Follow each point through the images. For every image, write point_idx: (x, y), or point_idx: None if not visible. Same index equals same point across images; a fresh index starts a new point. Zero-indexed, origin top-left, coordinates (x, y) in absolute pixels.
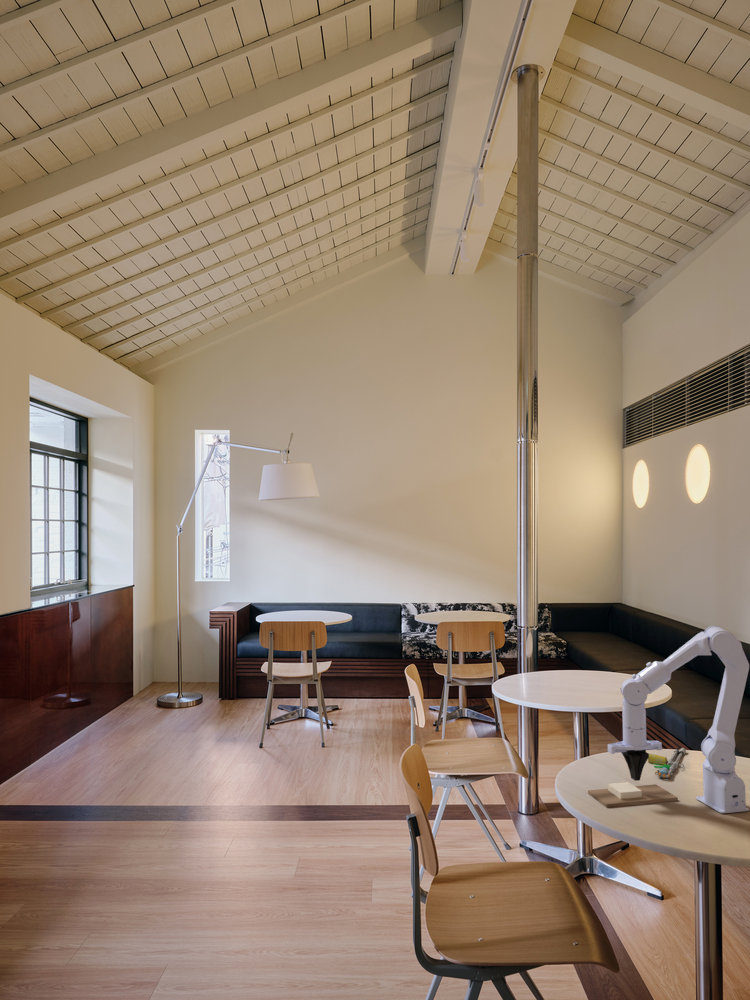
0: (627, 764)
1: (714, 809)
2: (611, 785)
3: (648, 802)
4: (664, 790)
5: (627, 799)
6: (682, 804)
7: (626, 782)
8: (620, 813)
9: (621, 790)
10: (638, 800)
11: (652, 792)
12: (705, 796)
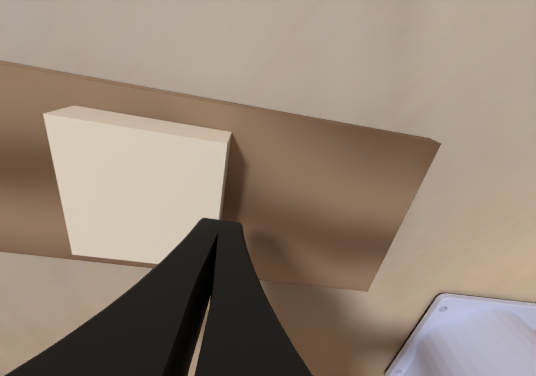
0: (131, 291)
1: (395, 359)
2: (61, 149)
3: None
4: (393, 223)
5: None
6: (346, 304)
7: (208, 144)
8: (49, 292)
9: (93, 235)
10: None
11: (315, 221)
12: (437, 353)
